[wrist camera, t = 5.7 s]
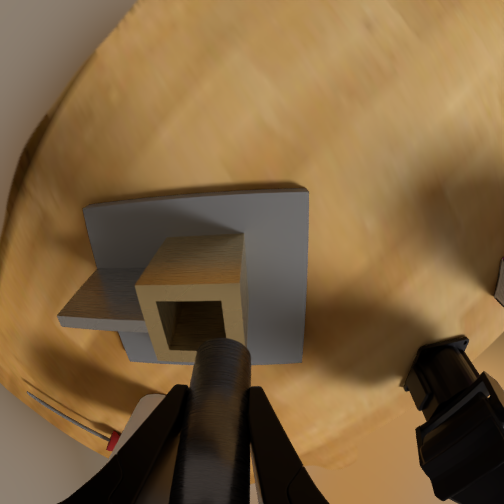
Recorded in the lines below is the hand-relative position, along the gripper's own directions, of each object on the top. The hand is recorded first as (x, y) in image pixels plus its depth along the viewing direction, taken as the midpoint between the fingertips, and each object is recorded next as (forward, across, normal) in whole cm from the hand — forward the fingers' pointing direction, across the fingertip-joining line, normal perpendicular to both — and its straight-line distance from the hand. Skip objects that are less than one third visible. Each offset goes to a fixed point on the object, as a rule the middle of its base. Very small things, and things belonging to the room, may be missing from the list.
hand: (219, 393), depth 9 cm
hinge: (+11, +5, +5) cm, 13 cm away
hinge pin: (+2, 0, 0) cm, 2 cm away
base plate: (+12, +3, +4) cm, 13 cm away
